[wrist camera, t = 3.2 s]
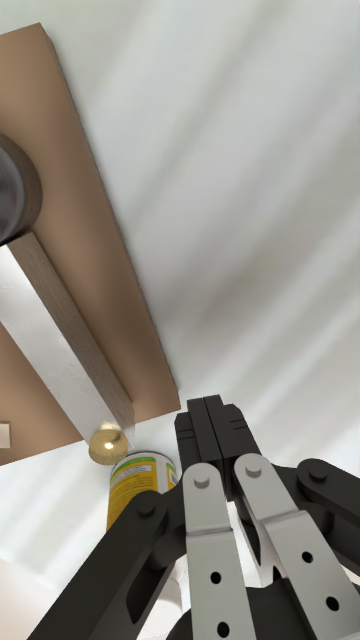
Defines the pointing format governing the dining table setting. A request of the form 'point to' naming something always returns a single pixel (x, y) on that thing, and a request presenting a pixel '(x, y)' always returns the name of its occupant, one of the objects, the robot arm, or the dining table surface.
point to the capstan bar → (55, 320)
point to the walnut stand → (71, 256)
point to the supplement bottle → (124, 485)
